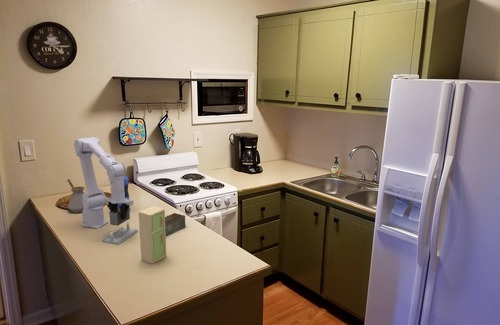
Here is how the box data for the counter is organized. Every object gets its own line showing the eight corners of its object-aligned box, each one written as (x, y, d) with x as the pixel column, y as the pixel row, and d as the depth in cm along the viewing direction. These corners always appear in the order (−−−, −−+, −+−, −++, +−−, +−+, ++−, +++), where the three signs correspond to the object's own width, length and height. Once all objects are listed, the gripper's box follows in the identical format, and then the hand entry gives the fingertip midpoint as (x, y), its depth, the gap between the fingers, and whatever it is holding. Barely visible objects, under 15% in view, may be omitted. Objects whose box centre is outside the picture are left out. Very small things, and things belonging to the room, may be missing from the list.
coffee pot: (94, 210, 194) (91, 184, 191) (72, 215, 187) (69, 188, 183) (80, 201, 209) (78, 176, 206) (59, 205, 201) (56, 180, 198)
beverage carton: (146, 236, 163) (145, 223, 162) (174, 223, 179) (174, 211, 178) (158, 241, 159) (157, 227, 158) (186, 227, 175) (186, 214, 174)
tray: (102, 241, 157) (101, 231, 156) (121, 229, 170) (121, 220, 169) (119, 244, 155) (118, 234, 154) (137, 232, 168) (137, 222, 167)
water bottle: (126, 214, 190) (123, 169, 184) (109, 214, 190) (106, 169, 184) (132, 208, 199) (130, 165, 193) (116, 208, 199) (113, 165, 193)
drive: (110, 224, 158) (109, 212, 157) (122, 217, 166) (121, 205, 165) (117, 225, 157) (117, 213, 156) (130, 218, 165) (129, 206, 164)
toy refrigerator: (153, 265, 138) (151, 215, 133) (140, 260, 142) (137, 211, 137) (168, 257, 145) (166, 209, 140) (155, 252, 148) (153, 205, 144)
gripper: (98, 191, 156) (100, 219, 159) (126, 194, 152) (127, 223, 155) (108, 186, 163) (110, 214, 166) (135, 189, 159) (137, 217, 162)
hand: (119, 218), depth 161 cm, fingers closed on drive, 4 cm apart
